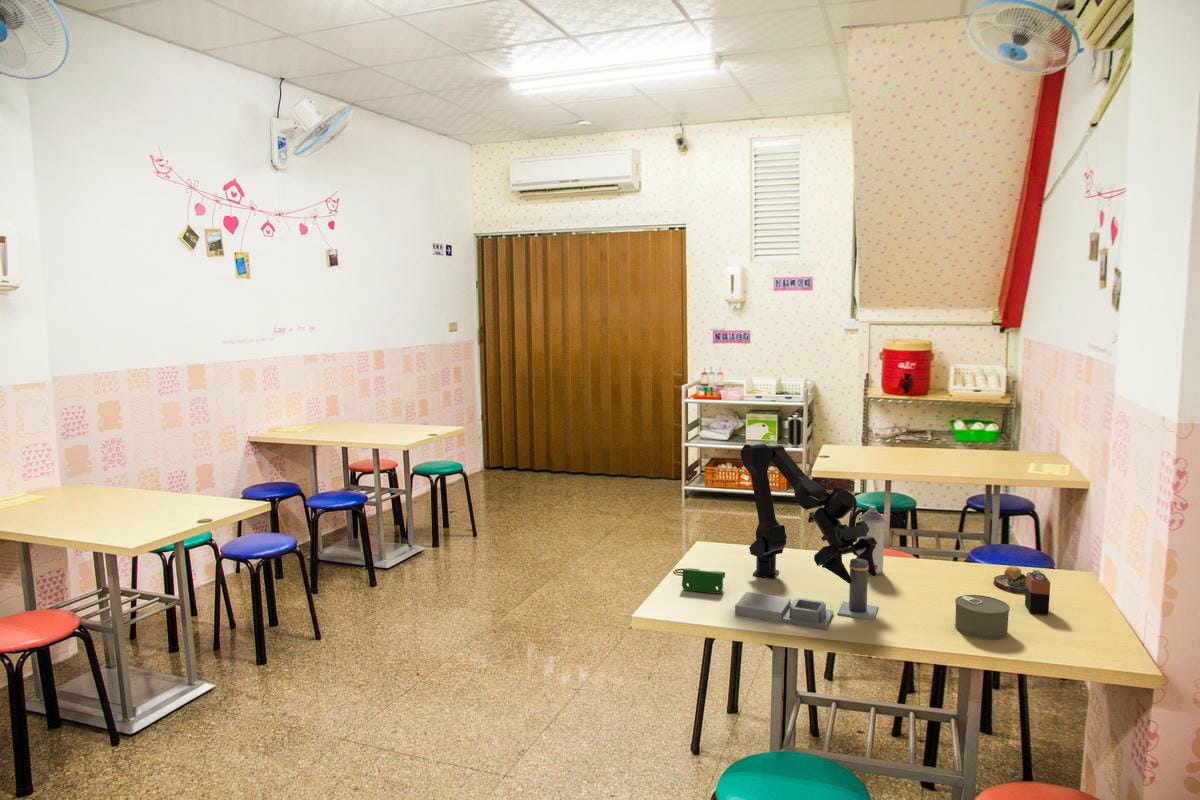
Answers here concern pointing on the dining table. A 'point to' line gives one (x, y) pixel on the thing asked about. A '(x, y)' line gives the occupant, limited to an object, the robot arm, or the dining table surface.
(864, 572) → the plug
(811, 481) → the robot arm
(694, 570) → the clamp
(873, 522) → the aerosol can
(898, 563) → the dining table surface
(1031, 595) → the battery
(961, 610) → the can
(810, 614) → the socket block
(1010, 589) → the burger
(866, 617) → the mat
